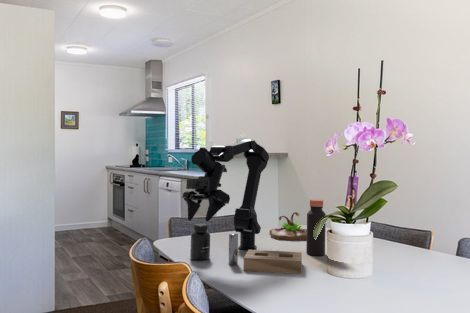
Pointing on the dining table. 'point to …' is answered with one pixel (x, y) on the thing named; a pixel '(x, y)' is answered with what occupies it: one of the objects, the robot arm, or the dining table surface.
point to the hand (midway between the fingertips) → (197, 220)
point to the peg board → (273, 261)
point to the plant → (289, 231)
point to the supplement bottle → (200, 243)
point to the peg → (233, 249)
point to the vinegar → (313, 217)
